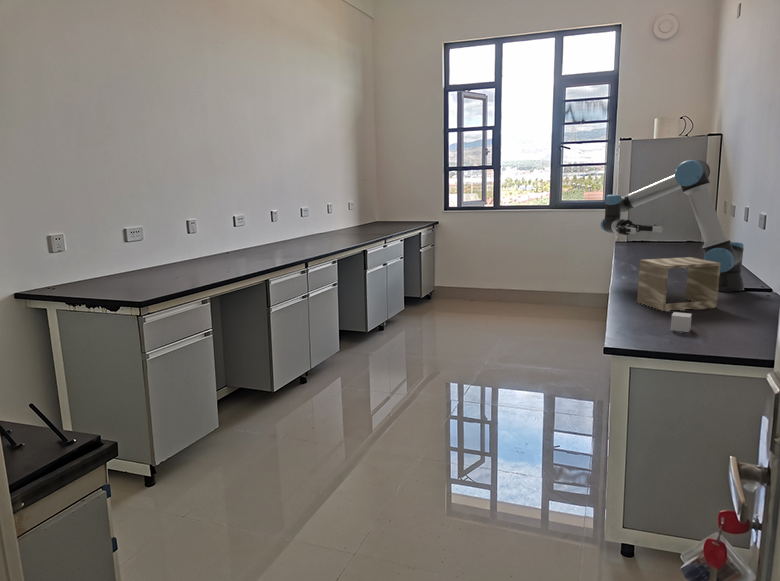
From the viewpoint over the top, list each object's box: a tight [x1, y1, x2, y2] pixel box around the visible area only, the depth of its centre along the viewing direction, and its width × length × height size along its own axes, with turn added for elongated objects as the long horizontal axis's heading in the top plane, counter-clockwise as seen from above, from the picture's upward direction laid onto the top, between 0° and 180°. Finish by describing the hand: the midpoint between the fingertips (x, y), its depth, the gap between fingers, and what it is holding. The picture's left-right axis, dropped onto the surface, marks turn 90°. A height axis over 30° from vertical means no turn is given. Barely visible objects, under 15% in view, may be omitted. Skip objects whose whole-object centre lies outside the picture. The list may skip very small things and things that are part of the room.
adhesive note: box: [670, 311, 693, 333], centre depth 207 cm, size 6×6×6 cm
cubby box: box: [636, 256, 721, 312], centre depth 244 cm, size 25×18×19 cm
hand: (648, 230), depth 264 cm, fingers open, 13 cm apart
